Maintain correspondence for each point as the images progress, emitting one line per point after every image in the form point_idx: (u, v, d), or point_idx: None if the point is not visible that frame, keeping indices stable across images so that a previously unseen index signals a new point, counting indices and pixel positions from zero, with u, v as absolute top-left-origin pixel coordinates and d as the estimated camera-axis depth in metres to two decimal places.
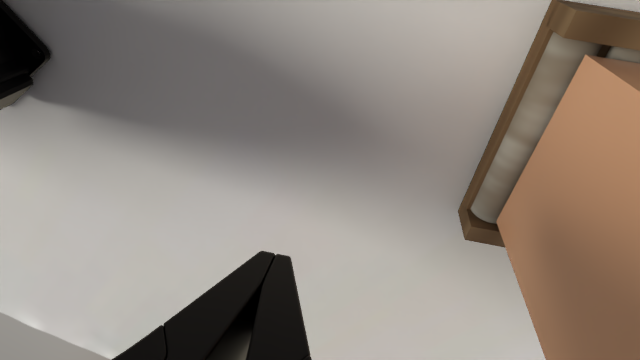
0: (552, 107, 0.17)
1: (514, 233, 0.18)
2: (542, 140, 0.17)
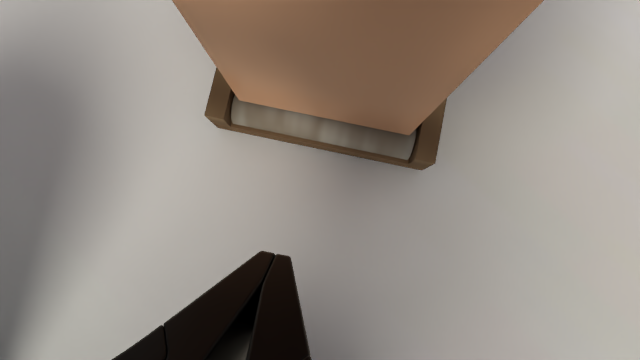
0: (285, 111, 0.20)
1: (397, 120, 0.17)
2: (310, 113, 0.19)
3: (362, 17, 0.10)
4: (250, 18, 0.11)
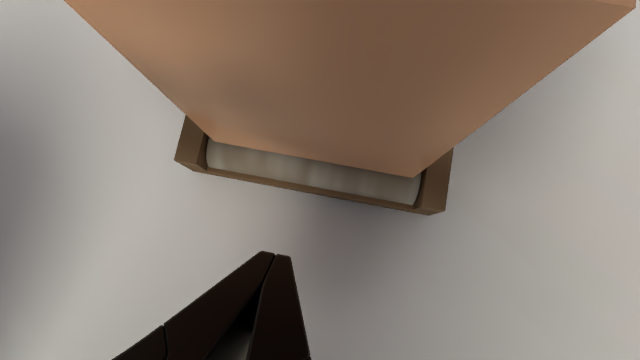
0: (268, 153, 0.17)
1: (399, 164, 0.15)
2: (297, 155, 0.16)
3: (346, 48, 0.07)
4: (200, 52, 0.08)
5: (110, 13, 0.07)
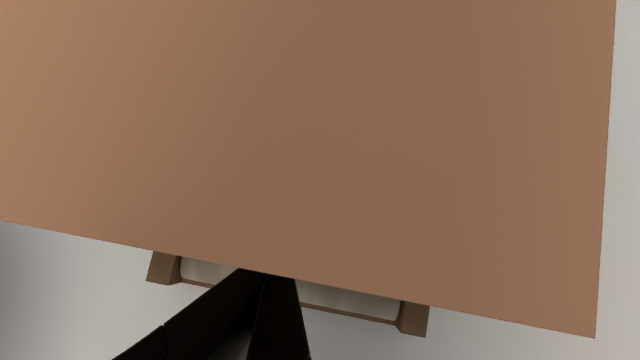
0: None
1: None
2: None
3: None
4: None
5: None
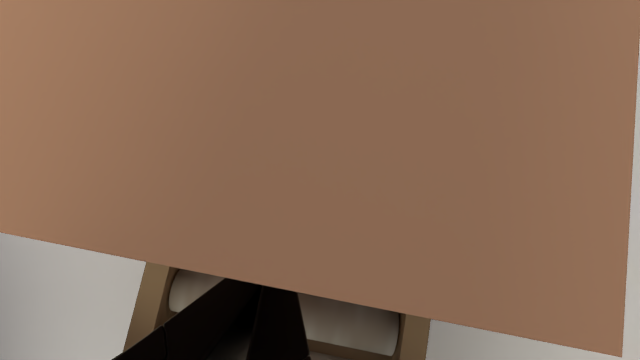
0: None
1: None
2: None
3: None
4: None
5: None
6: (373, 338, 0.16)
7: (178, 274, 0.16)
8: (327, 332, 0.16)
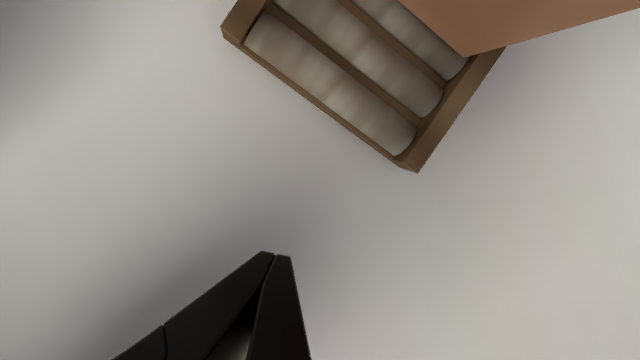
0: (304, 60, 0.18)
1: (472, 37, 0.17)
2: None
3: None
4: None
5: None
6: (421, 96, 0.20)
7: None
8: (392, 75, 0.19)
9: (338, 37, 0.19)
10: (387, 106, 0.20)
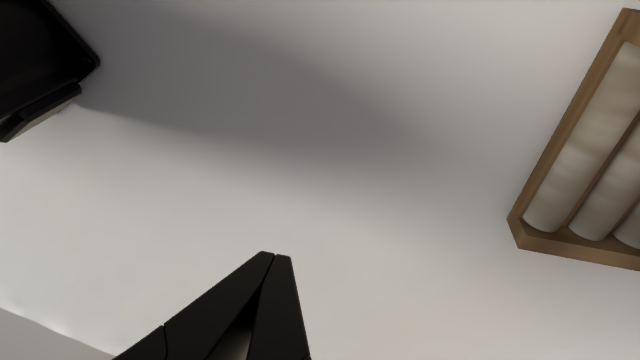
0: (620, 116, 0.16)
1: None
2: None
3: None
4: None
5: None
6: (597, 225, 0.20)
7: None
8: (615, 197, 0.19)
9: None
10: (577, 201, 0.20)
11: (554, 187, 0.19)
